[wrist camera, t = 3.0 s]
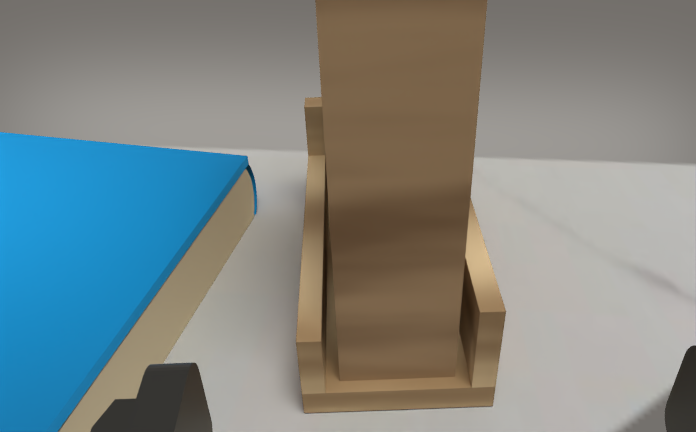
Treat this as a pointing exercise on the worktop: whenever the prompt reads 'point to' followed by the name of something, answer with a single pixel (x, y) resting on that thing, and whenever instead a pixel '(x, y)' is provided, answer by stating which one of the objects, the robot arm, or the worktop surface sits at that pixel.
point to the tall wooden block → (399, 177)
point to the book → (104, 267)
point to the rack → (320, 318)
